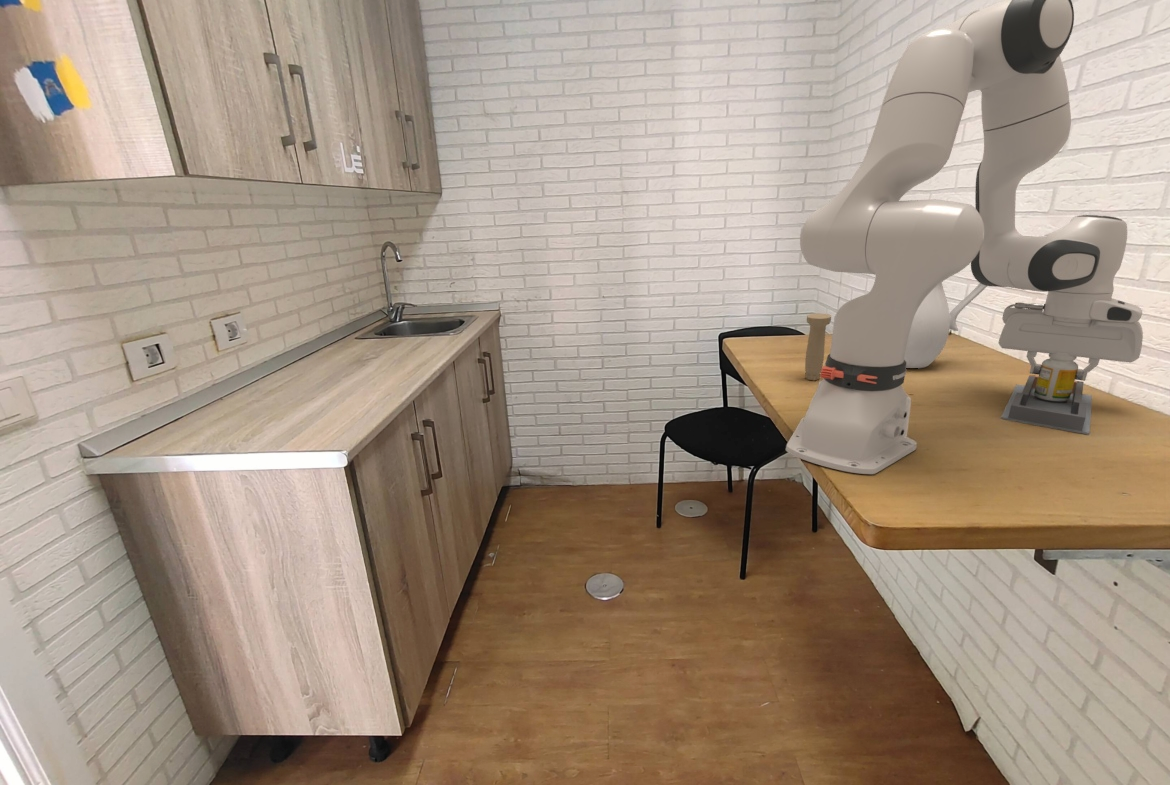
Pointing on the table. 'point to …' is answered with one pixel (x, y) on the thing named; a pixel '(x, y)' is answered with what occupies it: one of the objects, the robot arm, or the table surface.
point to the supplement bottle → (1056, 377)
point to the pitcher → (933, 326)
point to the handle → (816, 345)
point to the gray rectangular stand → (1050, 408)
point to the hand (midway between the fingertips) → (1056, 376)
